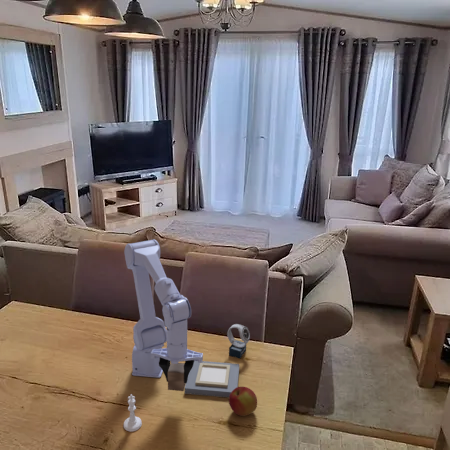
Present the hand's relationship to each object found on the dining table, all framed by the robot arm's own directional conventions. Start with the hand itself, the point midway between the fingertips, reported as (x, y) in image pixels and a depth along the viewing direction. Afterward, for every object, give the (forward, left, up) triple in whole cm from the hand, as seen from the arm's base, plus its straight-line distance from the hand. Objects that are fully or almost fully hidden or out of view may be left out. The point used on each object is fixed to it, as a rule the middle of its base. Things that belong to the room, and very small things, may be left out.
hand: (177, 380), depth 120 cm
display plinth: (+9, +12, -9) cm, 17 cm away
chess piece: (-11, -9, -9) cm, 17 cm away
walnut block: (0, 0, -2) cm, 2 cm away
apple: (+19, -1, -9) cm, 21 cm away
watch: (+16, +28, -9) cm, 34 cm away
